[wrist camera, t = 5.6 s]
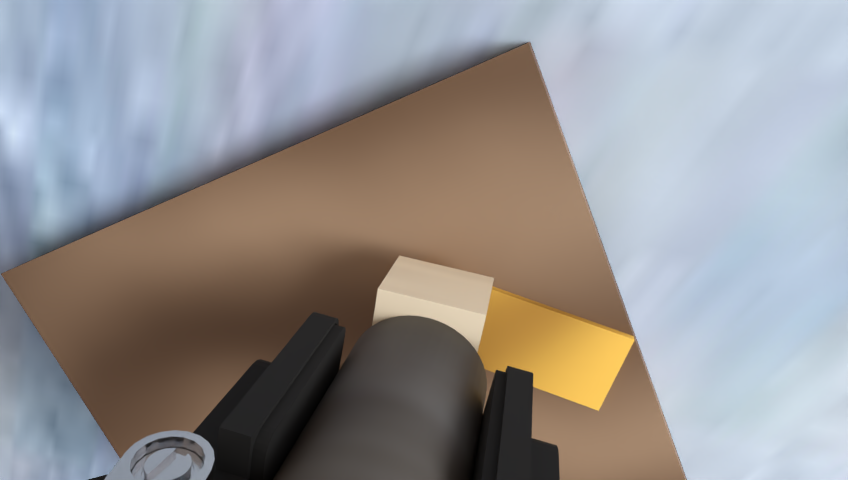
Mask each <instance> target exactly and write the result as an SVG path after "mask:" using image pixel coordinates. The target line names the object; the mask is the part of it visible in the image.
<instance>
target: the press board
mask: <svg viewBox="0 0 848 480" xmlns="http://www.w3.org/2000/svg"><path fill="white" fill-rule="evenodd" d="M399 255H400V256H404V257H408V258H412V259H416V260H421V261H425V262H429V263H433V264H438V265H442V266H446V267H450V268H454V269H459V270H463V271H467V272H471V273H476V274H480V275H484V276H488V277H492V278H494V281H493V286H492V290H491V295H490V300H489V305H488V310H487V314H486V319H485V323H484V327H483V331H482V336H481V340H480V344H479V348H478V352H477V353H478V355H479V356H480V358H481V360H482V363H483V365H484V369H485V372H486V378H487V391H486V397H485V403H484V409H485V405H486V402H487V398H488V395H489V392H490V388H491V385H492V381H493V378H494V374H495V371H496V370H499V371H503V372H505V371H506V368H507V366H511V367H514V368H518V369H521V370H525V371H529V372H532V373H533V405H532V438H533V439H537V440H540V441H544V442H547V443H551V444H554V445H557V447H558V451H559V474H560V480H687V479H686V476H685V473H684V471H683V468H682V465H681V462H680V459H679V457H678V454H677V451H676V448H675V445H674V443H673V440H672V437H671V434H670V431H669V429H668V426H667V423H666V420H665V418H664V415H663V412H662V409H661V406H660V404H659V401H658V398H657V395H656V392H655V390H654V387H653V384H652V381H651V378H650V376H649V373H648V370H647V367H646V364H645V362H644V359H643V356H642V353H641V350H640V348H639V345H638V342H637V339H636V336H635V334H634V331H633V328H632V325H631V322H630V320H629V317H628V314H627V311H626V308H625V306H624V303H623V300H622V297H621V295H620V292H619V289H618V286H617V283H616V281H615V278H614V275H613V272H612V269H611V267H610V264H609V261H608V258H607V255H606V253H605V250H604V247H603V244H602V241H601V239H600V236H599V233H598V230H597V227H596V225H595V222H594V219H593V216H592V213H591V211H590V208H589V205H588V202H587V199H586V197H585V194H584V191H583V188H582V186H581V183H580V180H579V177H578V174H577V172H576V169H575V166H574V163H573V160H572V158H571V155H570V152H569V149H568V146H567V144H566V141H565V138H564V135H563V132H562V130H561V127H560V124H559V121H558V118H557V116H556V113H555V110H554V107H553V104H552V102H551V99H550V96H549V93H548V90H547V88H546V85H545V82H544V79H543V77H542V74H541V71H540V68H539V65H538V63H537V60H536V57H535V54H534V51H533V49H532V46H531V43H530V42H528V43H526V44H524V45H522V46H519V47H517V48H515V49H512V50H510V51H508V52H506V53H503V54H501V55H499V56H496V57H494V58H492V59H490V60H487V61H485V62H483V63H480V64H478V65H476V66H474V67H471V68H469V69H467V70H464V71H462V72H460V73H458V74H455V75H453V76H451V77H449V78H446V79H444V80H442V81H439V82H437V83H435V84H433V85H430V86H428V87H426V88H423V89H421V90H419V91H417V92H414V93H412V94H410V95H407V96H405V97H403V98H401V99H398V100H396V101H394V102H391V103H389V104H387V105H385V106H382V107H380V108H378V109H375V110H373V111H371V112H369V113H366V114H364V115H362V116H359V117H357V118H355V119H353V120H350V121H348V122H346V123H344V124H341V125H339V126H337V127H334V128H332V129H330V130H328V131H325V132H323V133H321V134H318V135H316V136H314V137H312V138H309V139H307V140H305V141H302V142H300V143H298V144H296V145H293V146H291V147H289V148H286V149H284V150H282V151H280V152H277V153H275V154H273V155H270V156H268V157H266V158H264V159H261V160H259V161H257V162H255V163H252V164H250V165H248V166H245V167H243V168H241V169H239V170H236V171H234V172H232V173H229V174H227V175H225V176H223V177H220V178H218V179H216V180H213V181H211V182H209V183H207V184H204V185H202V186H200V187H197V188H195V189H193V190H191V191H188V192H186V193H184V194H181V195H179V196H177V197H175V198H172V199H170V200H168V201H166V202H163V203H161V204H159V205H156V206H154V207H152V208H150V209H147V210H145V211H143V212H140V213H138V214H136V215H134V216H131V217H129V218H127V219H124V220H122V221H120V222H118V223H115V224H113V225H111V226H108V227H106V228H104V229H102V230H99V231H97V232H95V233H92V234H90V235H88V236H86V237H83V238H81V239H79V240H77V241H74V242H72V243H70V244H67V245H65V246H63V247H61V248H58V249H56V250H54V251H51V252H49V253H47V254H45V255H42V256H40V257H38V258H35V259H33V260H31V261H29V262H26V263H24V264H22V265H20V266H17V267H15V268H13V269H11V270H8V271H6V272H4V273H2V274H1V275H2V276H3V278H4V279H5V281H6V283H7V284H8V286H9V287H10V289H11V290H12V292H13V293H14V295H15V296H16V298H17V300H18V301H19V303H20V304H21V306H22V307H23V309H24V310H25V312H26V313H27V315H28V317H29V318H30V320H31V321H32V323H33V324H34V326H35V327H36V329H37V330H38V332H39V334H40V335H41V337H42V338H43V340H44V341H45V343H46V344H47V346H48V347H49V349H50V351H51V352H52V354H53V355H54V357H55V358H56V360H57V361H58V363H59V364H60V366H61V368H62V369H63V371H64V372H65V374H66V375H67V377H68V378H69V380H70V382H71V383H72V385H73V386H74V388H75V389H76V391H77V392H78V394H79V395H80V397H81V399H82V400H83V402H84V403H85V405H86V406H87V408H88V409H89V411H90V412H91V414H92V416H93V417H94V419H95V420H96V422H97V423H98V425H99V426H100V428H101V429H102V431H103V433H104V434H105V436H106V437H107V439H108V440H109V442H110V443H111V445H112V446H113V448H114V450H115V451H116V453H117V454H118V456H119V457H120V459H121V457H122V456H123V455H124V453H125V452H126V451H127V450H128V449H129V448H130V447H131V446H132V445H133V444H134V443H136V442H138V441H139V440H141V439H143V438H145V437H147V436H149V435H152V434H156V433H159V432H164V431H173V430H177V431H188V432H191V433H193V432H194V431H195V430H196V428H197V427H198V426H199V425H200V424H201V423H202V422H203V420H204V419H205V418H206V417H207V416H208V415H209V413H210V412H211V411H212V410H213V409H214V408H215V407H216V405H217V404H218V403H219V402H220V401H221V400H222V399H223V397H224V396H225V395H226V394H227V393H228V392H229V390H230V389H231V388H232V387H233V386H234V385H235V384H236V382H237V381H238V380H239V379H240V378H241V377H242V375H243V374H244V373H245V372H246V371H247V370H248V369H249V367H250V366H251V365H252V364H253V363H254V362H255V361H256V360H259V359H262V360H265V361H268V362H272V361H273V360H274V359H275V358H276V356H277V355H278V354H279V353H280V352H281V350H282V349H283V348H284V347H285V345H286V344H287V343H288V342H289V341H290V339H291V338H292V337H293V336H294V334H295V333H296V332H297V331H298V329H299V328H300V327H301V326H302V325H303V323H304V322H305V321H306V320H307V318H308V317H309V316H310V315H311V314H312V313H313V312H317V313H320V314H324V315H327V316H331V317H335V318H338V320H339V325H338V326H342V327H345V328H346V332H345V338H344V344H343V350H342V356H341V362H340V368H341V366H342V365H343V363H344V362H345V360H346V358H347V357H348V355H349V353H350V352H351V350H352V348H353V347H354V345H355V343H356V342H357V340H358V339H359V338H360V336H361V335H362V334H363V333H364V332H365V331H366V330H367V329H368V328H370V327H371V326H372V323H373V317H374V310H375V304H376V297H377V291H378V287H379V286H380V284H381V283H382V281H383V280H384V278H385V277H386V275H387V274H388V272H389V271H390V269H391V268H392V266H393V265H394V263H395V261H396V260H397V258H398V257H399ZM340 368H339V370H340ZM484 409H483V412H484Z"/></svg>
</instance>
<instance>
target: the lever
mask: <svg viewBox="0 0 848 480" xmlns="http://www.w3.org/2000/svg"><path fill="white" fill-rule="evenodd" d="M493 281H494V278H492V277H488V276H484V275H480V274H476V273H471V272H467V271H463V270H459V269H454V268H450V267H446V266H442V265H438V264H433V263H429V262H425V261H421V260H416V259H412V258H408V257H404V256H400V255H399V257H398V258H397V260H396V261H395V263H394V265H393V266H392V268H391V269H390V271H389V272H388V274H387V275H386V277H385V278H384V280H383V281H382V283H381V284H380V286H379V287H378V291H377V297H376V304H375V310H374V317H373V323H372V326H371V327H370V328H368V329H367V330H366V331H365V332H364V333H363V334H362V335H361V336H360V338H359V339H358V340H357V342H356V343H355V345H354V347H353V348H352V350H351V352H350V353H349V355H348V357H347V358H346V360H345V362H344V363H343V365H342V366H341V368H340V370H339V371H338V373H337V375H336V376H335V378H334V380H333V381H332V383H331V385H330V386H329V388H328V389H327V391H326V393H325V394H324V396H323V398H322V399H321V401H320V403H319V404H318V406H317V408H316V409H315V411H314V412H313V414H312V416H311V417H310V419H309V421H308V422H307V424H306V426H305V427H304V429H303V431H302V432H301V434H300V435H299V437H298V439H297V440H296V442H295V444H294V445H293V447H292V449H291V450H290V452H289V453H288V455H287V457H286V458H285V460H284V462H283V463H282V465H281V467H280V468H279V470H278V472H277V473H276V475H275V476H274V478H273V480H472V476H473V470H474V464H475V458H476V452H477V446H478V440H479V434H480V428H481V422H482V416H483V409H484V403H485V397H486V391H487V378H486V372H485V369H484V365H483V363H482V360H481V358H480V356H479V355H478V353H477V352H478V348H479V344H480V340H481V336H482V331H483V327H484V323H485V319H486V314H487V310H488V305H489V300H490V295H491V290H492V286H493Z"/></svg>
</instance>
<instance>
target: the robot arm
mask: <svg viewBox="0 0 848 480" xmlns="http://www.w3.org/2000/svg"><path fill="white" fill-rule="evenodd" d="M338 325H339V320H338V318H335V317H331V316H327V315H324V314H320V313H317V312H313V313H312V314H311V315H310V316H309V317H308V318H307V320H306V321H305V322H304V323H303V325H302V326H301V327H300V328H299V329H298V331H297V332H296V333H295V334H294V336H293V337H292V338H291V339H290V341H289V342H288V343H287V344H286V345H285V347H284V348H283V349H282V350H281V352H280V353H279V354H278V355H277V356H276V358H275V359H274V360H273V361H272V362H268V361H265V360H262V359H259V360H256V361H255V362H254V363H253V364H252V365H251V366H250V367H249V369H248V370H247V371H246V372H245V373H244V374H243V375H242V377H241V378H240V379H239V380H238V381H237V382H236V384H235V385H234V386H233V387H232V388H231V389H230V390H229V392H228V393H227V394H226V395H225V396H224V397H223V399H222V400H221V401H220V402H219V403H218V404H217V405H216V407H215V408H214V409H213V410H212V411H211V412H210V413H209V415H208V416H207V417H206V418H205V419H204V420H203V422H202V423H201V424H200V425H199V426H198V427H197V428H196V430H195V431H194V432H193V433H191V432H188V431H177V430H173V431H164V432H159V433H156V434H152V435H149V436H147V437H145V438H143V439H141V440H139V441H138V442H136V443H134V444H133V445H132V446H131V447H130V448H129V449H128V450H127V451H126V452H125V453H124V455H123V456H122V457H121V459H120V460H119V461H118V462H117V464H116V465H115V466H114V467H113V469H112V470H111V471H110V473H109V474H108V475H104V476H100V477H96V478H92V479H89V480H273V478H274V476H275V475H276V473H277V472H278V470H279V468H280V467H281V465H282V463H283V462H284V460H285V458H286V457H287V455H288V453H289V452H290V450H291V449H292V447H293V445H294V444H295V442H296V440H297V439H298V437H299V435H300V434H301V432H302V431H303V429H304V427H305V426H306V424H307V422H308V421H309V419H310V417H311V416H312V414H313V412H314V411H315V409H316V408H317V406H318V404H319V403H320V401H321V399H322V398H323V396H324V394H325V393H326V391H327V389H328V388H329V386H330V385H331V383H332V381H333V380H334V378H335V376H336V375H337V373H338V371H339V368H340V362H341V356H342V350H343V344H344V338H345V332H346V328H345V327H342V326H338ZM532 405H533V373H532V372H529V371H525V370H521V369H518V368H514V367H511V366H507V368H506V371H505V372H503V371H499V370H496V371H495V374H494V378H493V381H492V385H491V388H490V392H489V395H488V398H487V402H486V405H485V409H484V412H483V416H482V422H481V428H480V434H479V440H478V446H477V452H476V458H475V464H474V470H473V476H472V480H560V474H559V451H558V447H557V445H554V444H551V443H547V442H544V441H540V440H537V439H533V438H532Z"/></svg>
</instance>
